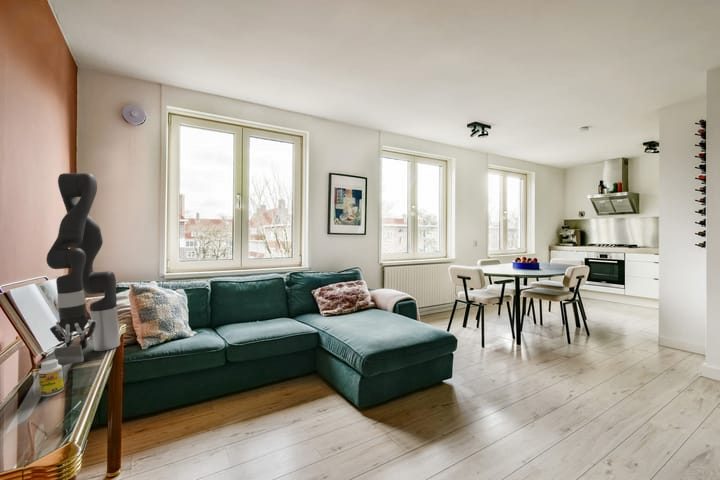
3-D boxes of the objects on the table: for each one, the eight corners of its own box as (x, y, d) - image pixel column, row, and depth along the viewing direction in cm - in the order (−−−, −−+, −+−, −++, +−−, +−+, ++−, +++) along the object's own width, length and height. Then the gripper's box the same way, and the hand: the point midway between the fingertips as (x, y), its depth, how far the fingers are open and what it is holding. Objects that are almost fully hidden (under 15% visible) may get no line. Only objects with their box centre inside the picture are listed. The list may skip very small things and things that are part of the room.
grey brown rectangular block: (72, 346, 127) (69, 332, 126) (94, 343, 130) (92, 329, 128) (57, 366, 115) (54, 350, 114) (82, 361, 118) (79, 346, 116)
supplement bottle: (36, 398, 105) (32, 366, 104) (48, 390, 110) (45, 359, 109) (57, 395, 106) (53, 363, 105) (68, 387, 111) (65, 357, 111)
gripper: (99, 298, 128) (104, 343, 129) (52, 304, 122) (57, 350, 124) (92, 303, 121) (97, 350, 122) (42, 309, 115) (48, 358, 117)
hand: (77, 350), depth 123 cm, fingers closed on grey brown rectangular block, 3 cm apart
